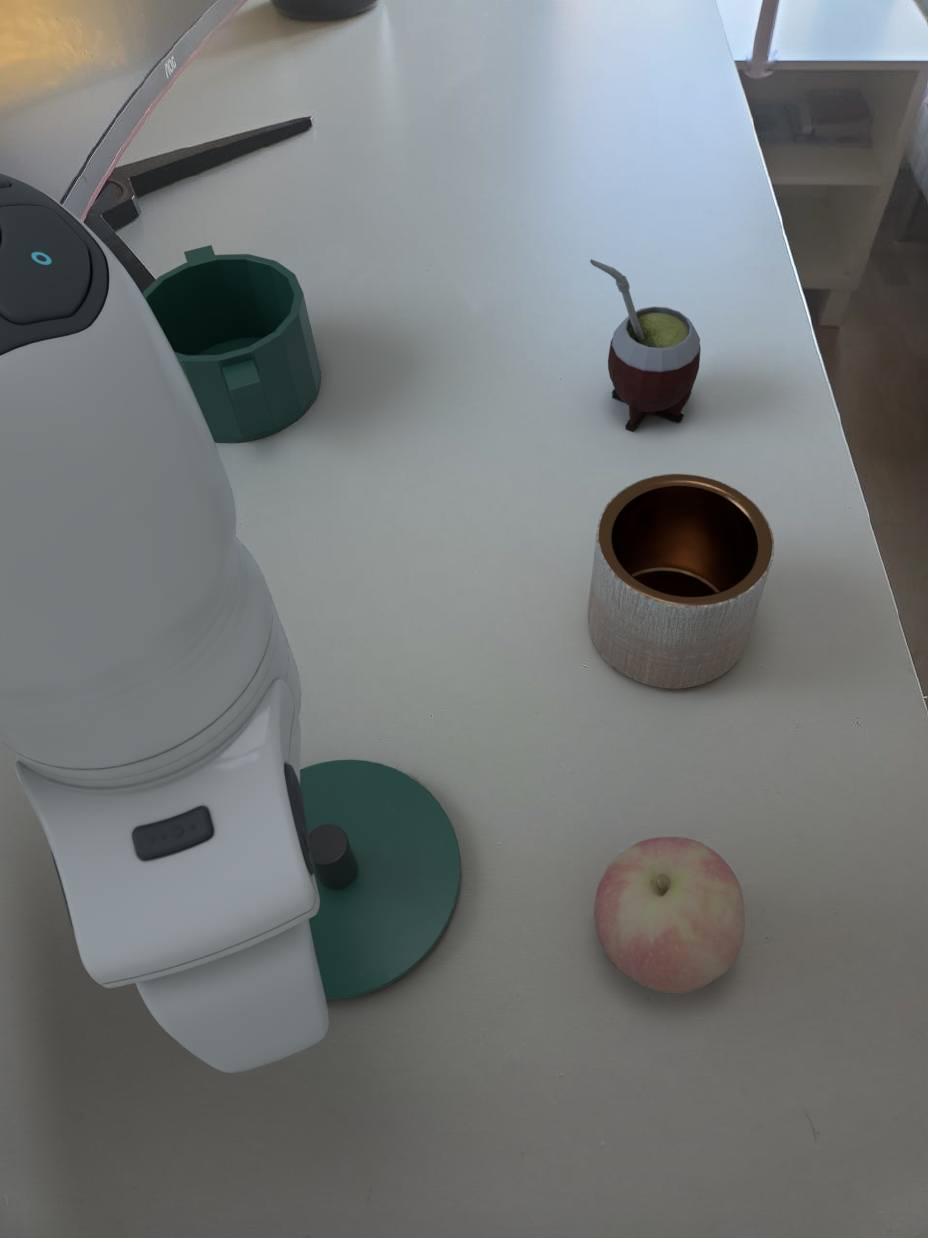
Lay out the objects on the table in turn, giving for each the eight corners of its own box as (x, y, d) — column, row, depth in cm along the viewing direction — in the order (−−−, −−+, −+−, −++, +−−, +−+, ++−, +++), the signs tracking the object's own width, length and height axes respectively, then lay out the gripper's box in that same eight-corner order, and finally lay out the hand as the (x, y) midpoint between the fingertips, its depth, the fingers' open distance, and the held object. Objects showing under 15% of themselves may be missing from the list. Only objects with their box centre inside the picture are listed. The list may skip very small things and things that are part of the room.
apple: (678, 848, 57) (698, 790, 51) (760, 963, 53) (793, 916, 47) (564, 913, 55) (570, 861, 49) (640, 1037, 51) (657, 999, 45)
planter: (760, 691, 63) (793, 605, 55) (593, 696, 63) (603, 612, 56) (732, 561, 69) (758, 467, 61) (580, 567, 70) (587, 474, 62)
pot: (186, 483, 77) (153, 402, 70) (148, 343, 87) (116, 260, 80) (347, 436, 79) (330, 353, 72) (291, 304, 89) (272, 221, 82)
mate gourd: (704, 396, 79) (737, 232, 67) (661, 456, 76) (687, 293, 63) (624, 366, 82) (641, 202, 70) (578, 422, 78) (588, 260, 66)
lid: (249, 1043, 52) (225, 1021, 48) (199, 813, 60) (174, 776, 56) (497, 947, 54) (494, 918, 50) (416, 737, 62) (409, 697, 58)
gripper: (30, 489, 36) (148, 682, 47) (90, 1039, 25) (228, 1120, 36) (196, 443, 37) (273, 643, 48) (329, 953, 25) (389, 1058, 37)
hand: (255, 850), depth 42 cm, fingers open, 8 cm apart
